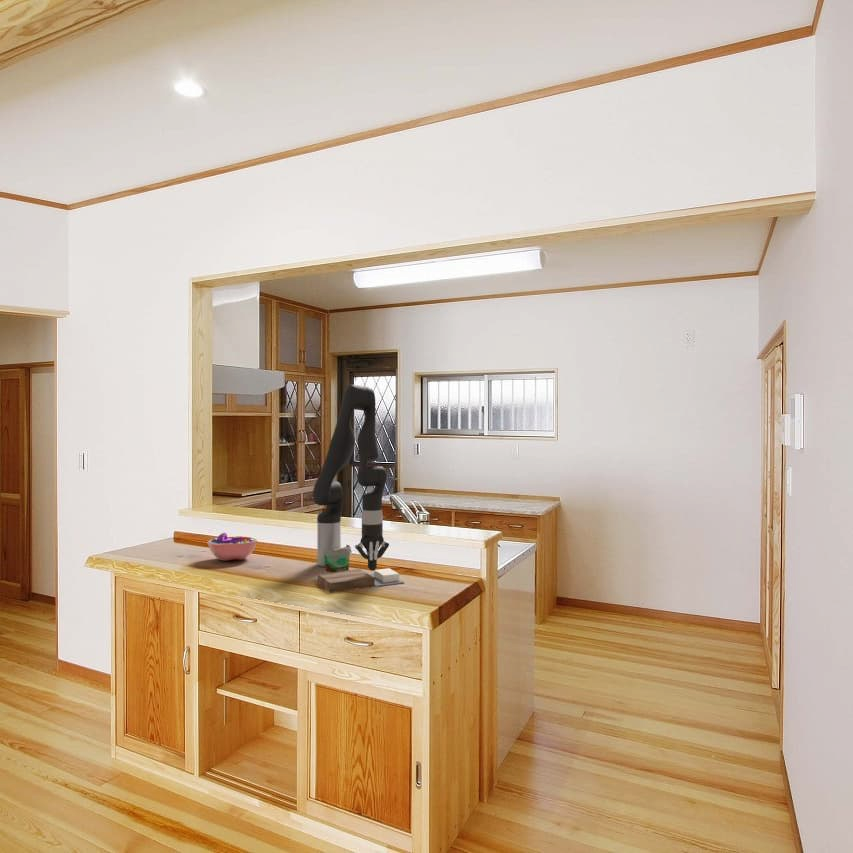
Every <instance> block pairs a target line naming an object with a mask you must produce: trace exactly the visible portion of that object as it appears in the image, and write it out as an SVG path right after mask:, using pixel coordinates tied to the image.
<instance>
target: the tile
mask: <svg viewBox="0 0 853 853" xmlns="http://www.w3.org/2000/svg"><path fill="white" fill-rule="evenodd" d="M373 571H374V572H373V574H374V577H375V578H377V579H379V580H380V581H382V582H383V583H384V582H392V581H399V579H400V573H398V572H397V571H395V570H393V569H391V568H390V567H388V568H380V569H375V570H373Z"/></svg>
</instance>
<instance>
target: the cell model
mask: <svg viewBox="0 0 853 853" xmlns="http://www.w3.org/2000/svg"><path fill="white" fill-rule="evenodd" d="M206 543H207V545H208V547H209V550H210V552H211V554H212V555H213V556H214V557H215V558H216V559H219V560H220V561H223V562H229V561H235V560H238V561H241V560H244V559H246V558H247V557H249V556H250V555H251V554H252V553H253V552H254V550H255V549H256V545H257V543H258V539H255V538H253V537H250V536H242V535H241V536H228V534H227V533H226V532H222V533H220V534H219V535H218V536H217V538H216V537H215V538H211V539H209V540H208V541H207V542H206Z"/></svg>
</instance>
